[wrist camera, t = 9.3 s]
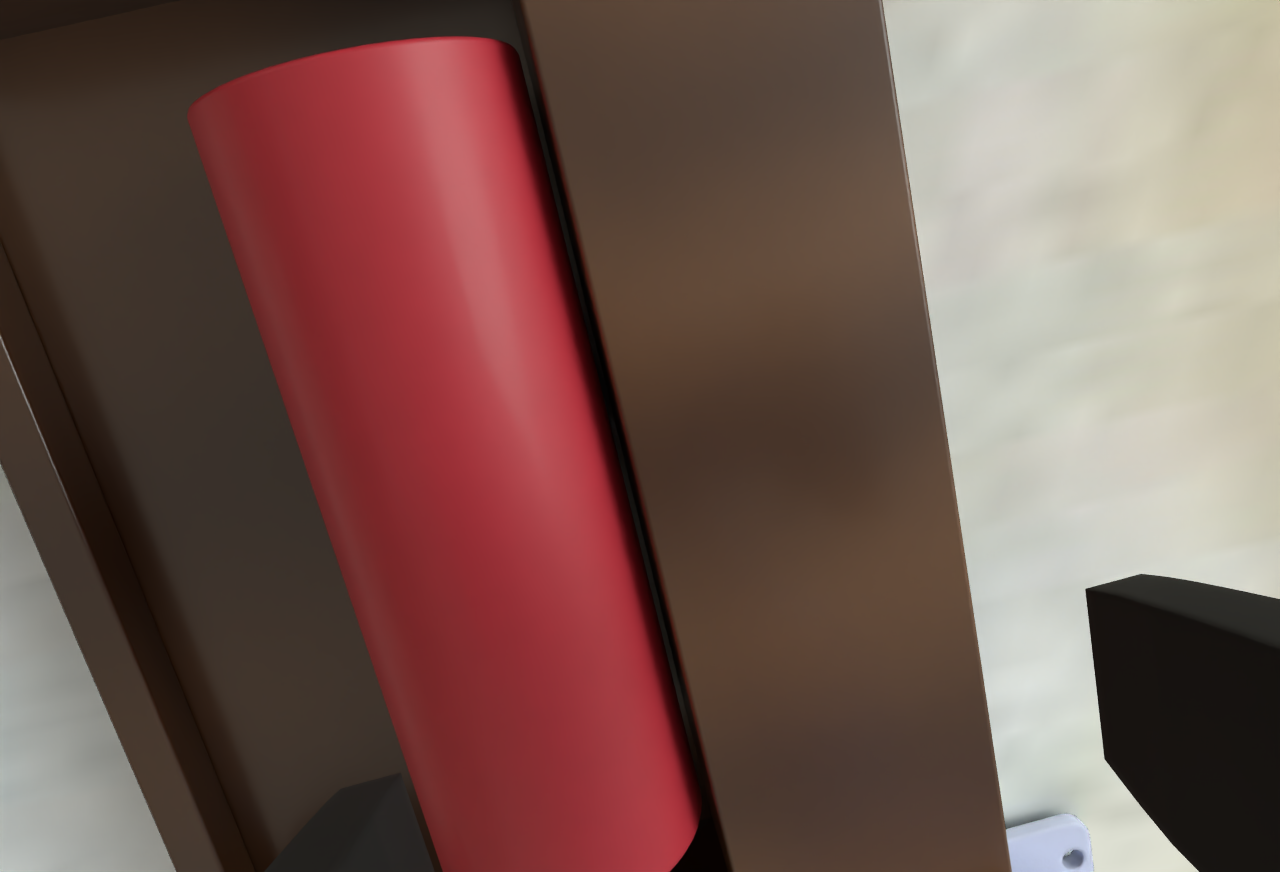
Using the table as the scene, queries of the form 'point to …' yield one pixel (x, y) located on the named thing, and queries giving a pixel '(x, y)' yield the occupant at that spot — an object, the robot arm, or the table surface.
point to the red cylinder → (458, 445)
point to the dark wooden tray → (632, 389)
